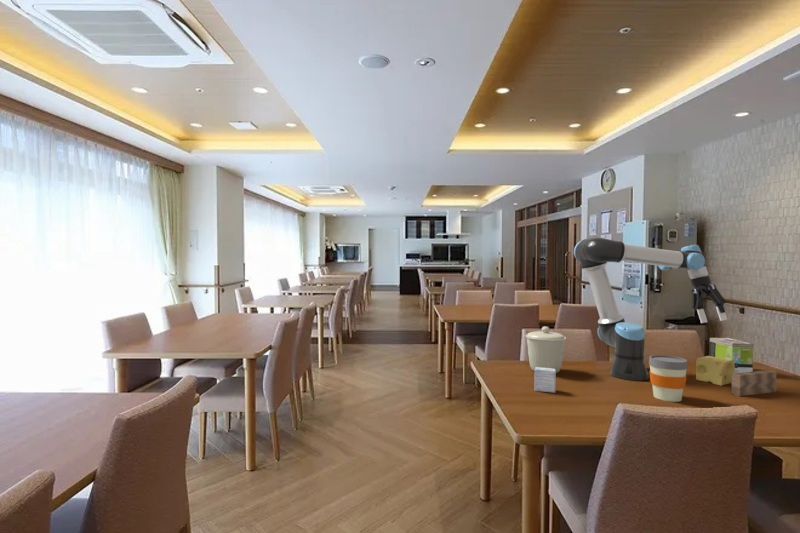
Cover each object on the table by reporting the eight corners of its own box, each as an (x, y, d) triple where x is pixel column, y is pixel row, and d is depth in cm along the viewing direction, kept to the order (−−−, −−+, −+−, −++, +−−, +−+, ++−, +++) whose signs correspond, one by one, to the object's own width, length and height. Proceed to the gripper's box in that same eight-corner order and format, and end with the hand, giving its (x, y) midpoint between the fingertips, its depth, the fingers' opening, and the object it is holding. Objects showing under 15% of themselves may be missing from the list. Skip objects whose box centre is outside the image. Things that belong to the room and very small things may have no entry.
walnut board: (739, 396, 161) (739, 375, 161) (731, 393, 164) (731, 373, 164) (776, 391, 167) (776, 372, 167) (767, 389, 170) (767, 370, 170)
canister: (547, 378, 184) (547, 331, 183) (516, 369, 200) (517, 325, 199) (574, 373, 193) (574, 327, 192) (543, 364, 208) (543, 322, 208)
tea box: (753, 375, 192) (754, 343, 192) (731, 375, 192) (732, 343, 192) (728, 366, 207) (729, 337, 207) (708, 366, 207) (708, 337, 207)
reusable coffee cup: (648, 390, 168) (648, 353, 167) (685, 396, 161) (686, 357, 161) (648, 399, 157) (649, 359, 157) (688, 405, 150) (689, 364, 150)
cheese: (721, 386, 175) (722, 362, 174) (693, 379, 184) (694, 357, 184) (734, 383, 179) (735, 359, 179) (706, 376, 189) (707, 354, 189)
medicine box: (555, 389, 168) (555, 368, 168) (555, 393, 164) (555, 371, 163) (534, 387, 170) (534, 366, 170) (534, 391, 166) (534, 369, 166)
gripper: (725, 270, 186) (741, 317, 181) (691, 280, 210) (704, 322, 205) (708, 273, 186) (724, 320, 181) (676, 283, 210) (689, 324, 206)
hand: (713, 321), depth 193 cm, fingers open, 13 cm apart
